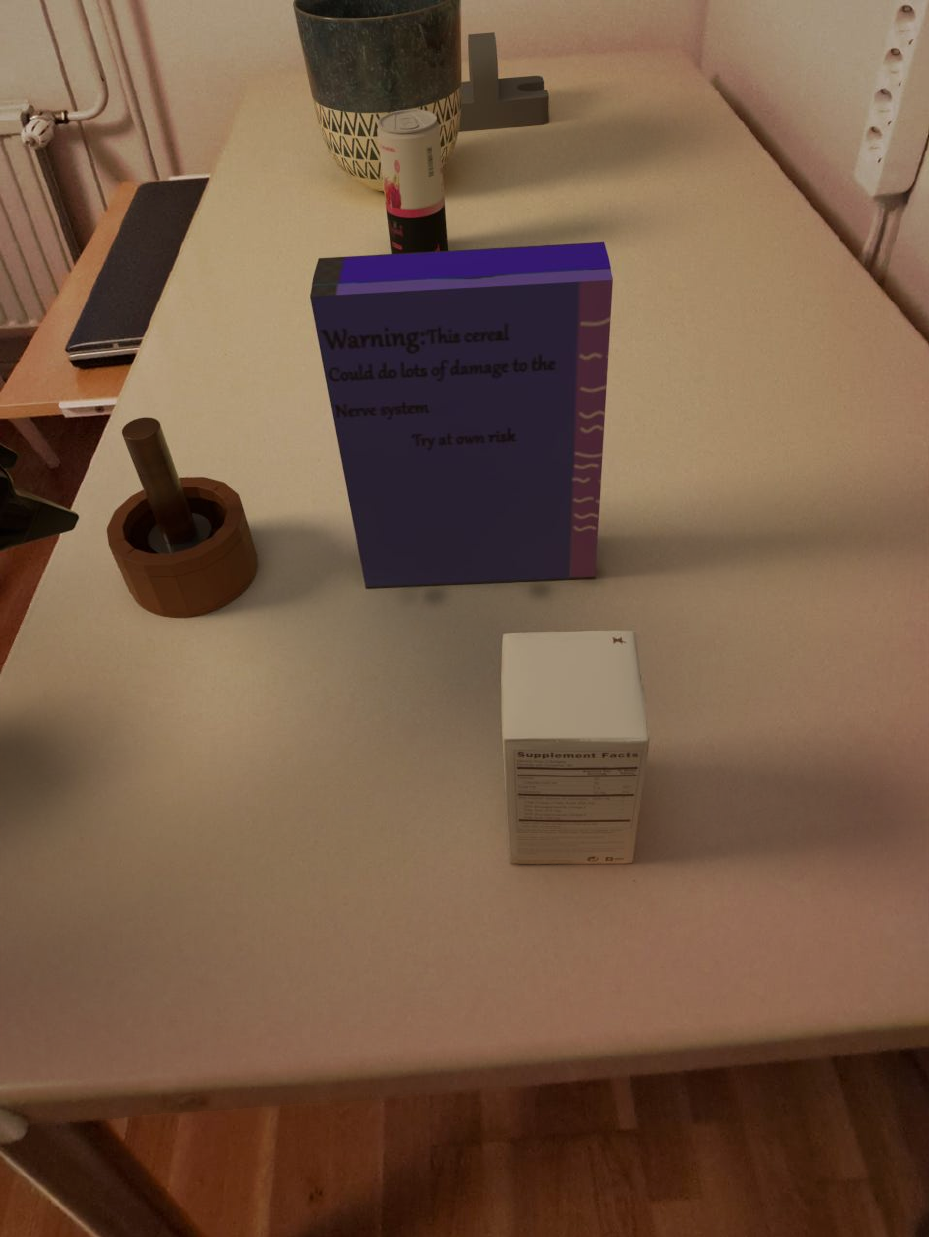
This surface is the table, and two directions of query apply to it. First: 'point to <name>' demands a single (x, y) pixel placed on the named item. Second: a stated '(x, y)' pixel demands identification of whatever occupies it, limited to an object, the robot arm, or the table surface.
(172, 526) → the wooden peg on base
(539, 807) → the white packaging box
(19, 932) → the table surface
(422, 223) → the beverage can
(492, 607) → the table surface
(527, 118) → the bracket
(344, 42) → the planter
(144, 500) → the bowl
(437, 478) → the cereal box
